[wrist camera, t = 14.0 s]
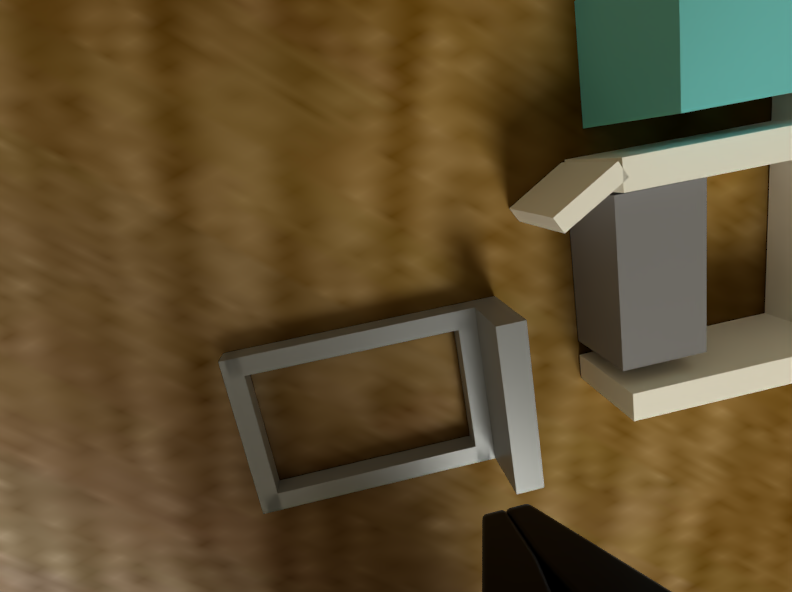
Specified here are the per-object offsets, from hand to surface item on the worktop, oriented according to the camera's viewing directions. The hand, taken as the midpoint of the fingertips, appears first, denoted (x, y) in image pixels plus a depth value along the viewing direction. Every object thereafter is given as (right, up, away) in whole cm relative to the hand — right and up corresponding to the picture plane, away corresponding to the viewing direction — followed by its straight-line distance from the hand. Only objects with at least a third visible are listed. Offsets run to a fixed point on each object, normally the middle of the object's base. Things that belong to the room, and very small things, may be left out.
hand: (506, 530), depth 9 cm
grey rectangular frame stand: (-4, 0, +10) cm, 11 cm away
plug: (+7, +12, +8) cm, 17 cm away
